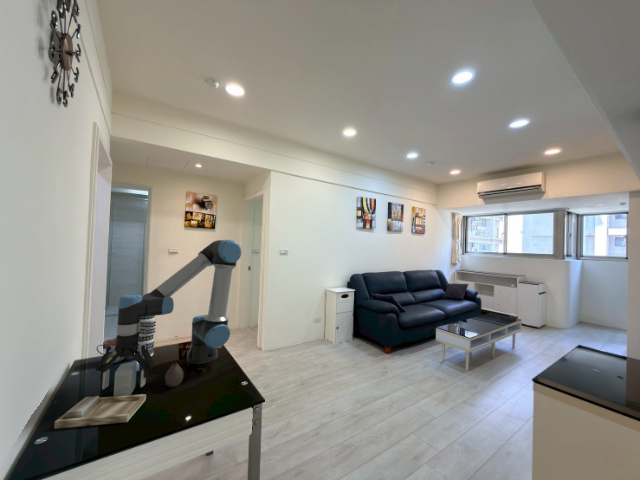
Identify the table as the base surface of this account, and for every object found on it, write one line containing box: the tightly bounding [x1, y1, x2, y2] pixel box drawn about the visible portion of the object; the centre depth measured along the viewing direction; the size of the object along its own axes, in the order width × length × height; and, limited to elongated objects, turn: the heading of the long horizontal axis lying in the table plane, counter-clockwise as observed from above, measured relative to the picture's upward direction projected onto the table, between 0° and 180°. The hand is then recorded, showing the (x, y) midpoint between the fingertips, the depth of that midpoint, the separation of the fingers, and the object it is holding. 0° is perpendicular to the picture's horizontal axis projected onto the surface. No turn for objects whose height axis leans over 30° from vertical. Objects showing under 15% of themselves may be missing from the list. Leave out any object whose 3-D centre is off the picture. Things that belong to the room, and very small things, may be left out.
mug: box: [96, 337, 125, 364], centre depth 132 cm, size 12×9×11 cm
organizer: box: [54, 393, 147, 429], centre depth 91 cm, size 21×13×4 cm, turn 101°
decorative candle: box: [138, 316, 157, 358], centre depth 140 cm, size 9×9×25 cm
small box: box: [113, 361, 138, 397], centre depth 104 cm, size 8×6×10 cm
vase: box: [164, 362, 184, 388], centre depth 111 cm, size 7×7×9 cm
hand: (124, 386), depth 103 cm, fingers open, 13 cm apart
